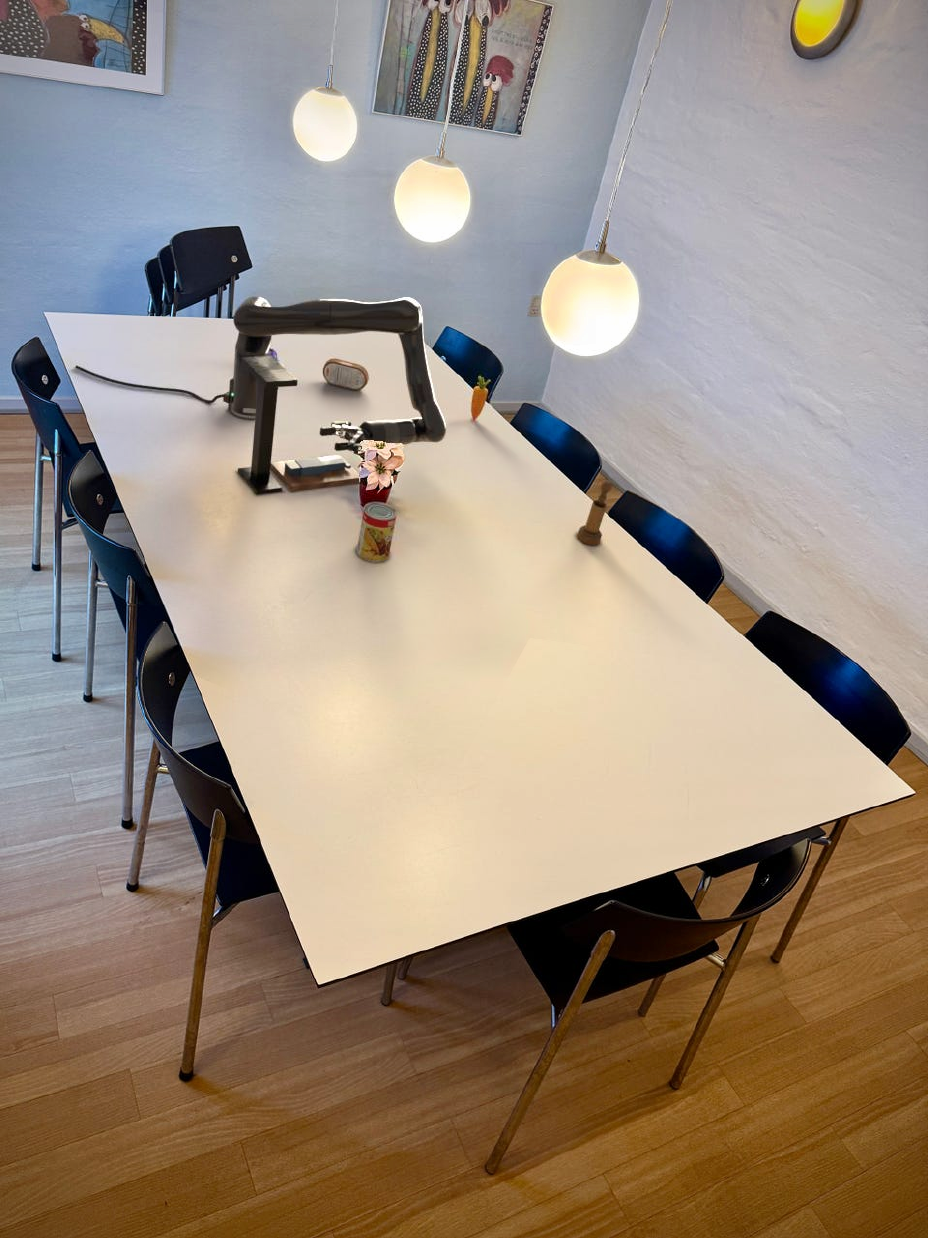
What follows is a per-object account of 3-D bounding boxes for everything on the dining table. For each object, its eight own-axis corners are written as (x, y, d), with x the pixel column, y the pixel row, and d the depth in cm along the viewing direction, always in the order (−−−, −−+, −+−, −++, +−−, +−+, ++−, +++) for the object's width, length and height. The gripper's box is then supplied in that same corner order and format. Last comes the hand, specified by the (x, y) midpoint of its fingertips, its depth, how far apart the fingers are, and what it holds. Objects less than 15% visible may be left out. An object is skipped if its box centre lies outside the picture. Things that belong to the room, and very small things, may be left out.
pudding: (272, 357, 298) (273, 342, 295) (291, 371, 291) (293, 356, 288) (240, 360, 290) (241, 344, 287) (259, 375, 284) (261, 359, 281)
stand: (262, 467, 236) (272, 356, 219) (285, 493, 228) (297, 380, 210) (234, 470, 232) (241, 357, 214) (256, 497, 224) (266, 381, 206)
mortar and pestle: (575, 530, 245) (594, 473, 235) (597, 534, 247) (617, 477, 236) (579, 543, 240) (598, 485, 230) (601, 547, 241) (622, 489, 231)
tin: (367, 390, 292) (370, 366, 287) (365, 394, 290) (368, 369, 285) (322, 379, 292) (325, 355, 287) (320, 382, 289) (323, 358, 284)
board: (338, 460, 249) (339, 455, 248) (361, 482, 241) (362, 477, 241) (270, 467, 237) (270, 462, 236) (291, 491, 230) (292, 486, 229)
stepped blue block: (342, 462, 245) (343, 454, 243) (350, 470, 242) (351, 461, 241) (283, 469, 235) (284, 461, 233) (291, 477, 232) (292, 469, 231)
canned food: (391, 562, 213) (400, 520, 206) (359, 561, 210) (367, 518, 203) (385, 544, 219) (393, 502, 212) (354, 543, 216) (361, 501, 209)
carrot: (483, 420, 293) (494, 377, 284) (477, 424, 289) (487, 381, 281) (470, 415, 294) (480, 372, 286) (464, 419, 290) (474, 376, 282)
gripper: (369, 410, 246) (316, 414, 236) (395, 433, 237) (342, 438, 228) (365, 434, 250) (313, 439, 241) (390, 458, 241) (338, 464, 232)
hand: (327, 439), depth 234 cm, fingers open, 8 cm apart
